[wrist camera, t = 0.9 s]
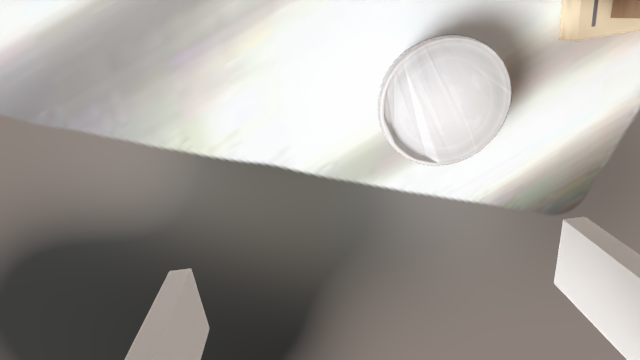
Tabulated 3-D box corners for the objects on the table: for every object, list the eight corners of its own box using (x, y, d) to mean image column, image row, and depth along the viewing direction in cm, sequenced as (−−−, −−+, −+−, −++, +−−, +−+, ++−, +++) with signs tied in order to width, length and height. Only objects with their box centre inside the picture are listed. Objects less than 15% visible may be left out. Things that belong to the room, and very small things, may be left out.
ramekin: (346, 109, 38) (353, 123, 33) (420, 5, 34) (440, 4, 30) (432, 168, 41) (450, 188, 36) (508, 77, 37) (539, 87, 32)
